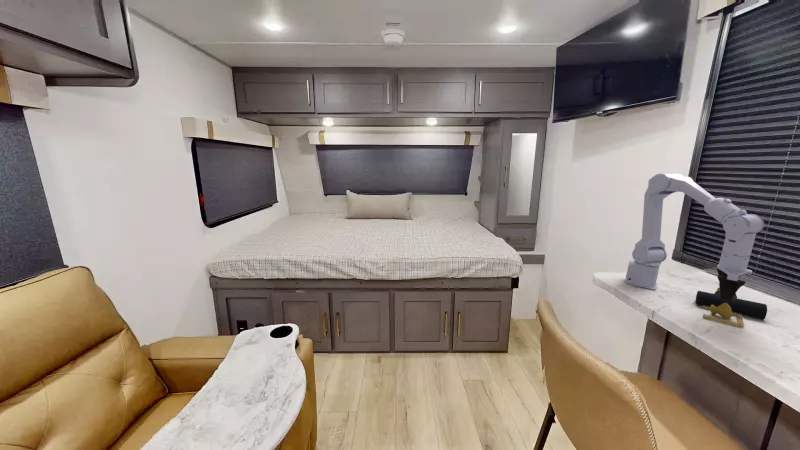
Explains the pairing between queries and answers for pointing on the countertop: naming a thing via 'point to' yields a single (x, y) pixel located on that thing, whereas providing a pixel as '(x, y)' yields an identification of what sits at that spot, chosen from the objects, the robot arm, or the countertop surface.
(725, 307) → the knob
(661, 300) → the countertop surface
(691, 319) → the countertop surface
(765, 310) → the pipe connector
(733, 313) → the u-shaped bracket
